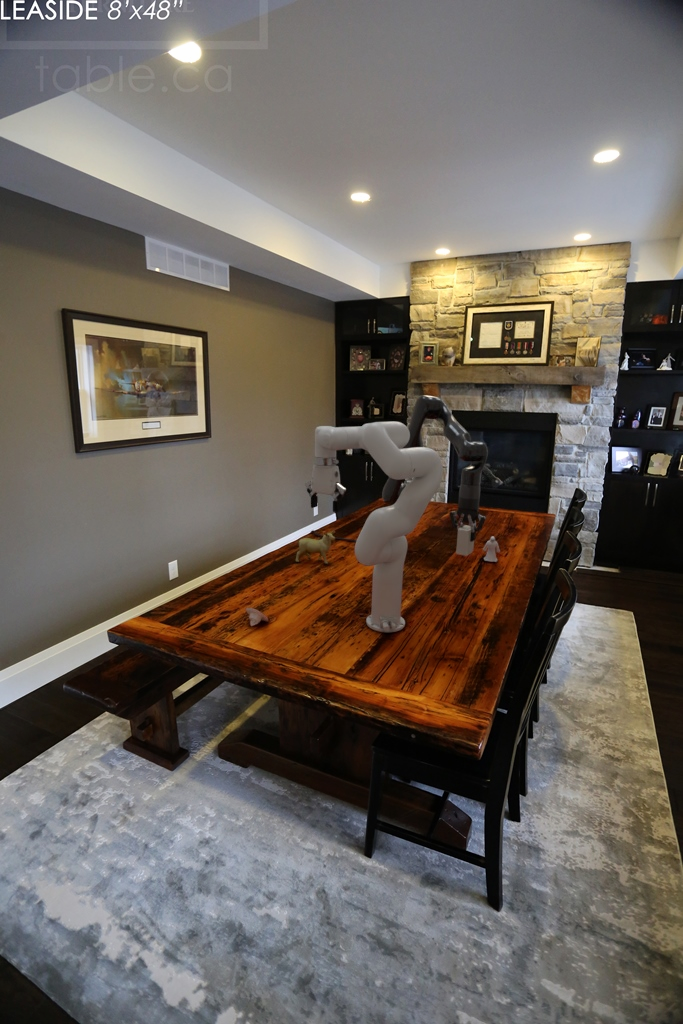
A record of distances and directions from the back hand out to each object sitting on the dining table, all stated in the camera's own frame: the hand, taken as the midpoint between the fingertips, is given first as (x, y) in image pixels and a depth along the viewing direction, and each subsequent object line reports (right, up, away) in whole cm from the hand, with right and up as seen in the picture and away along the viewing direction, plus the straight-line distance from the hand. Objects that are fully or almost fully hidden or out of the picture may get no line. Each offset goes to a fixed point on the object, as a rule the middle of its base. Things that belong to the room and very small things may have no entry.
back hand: (465, 539), depth 189 cm
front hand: (-53, +12, -10) cm, 55 cm away
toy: (-58, -12, +29) cm, 66 cm away
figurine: (+20, -11, +36) cm, 42 cm away
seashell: (-75, -25, -28) cm, 84 cm away
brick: (0, -5, +1) cm, 5 cm away
